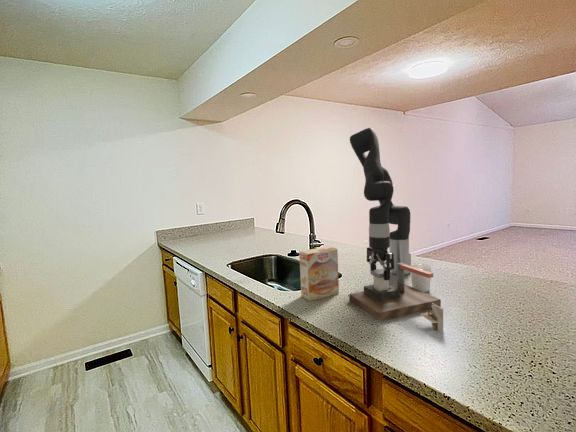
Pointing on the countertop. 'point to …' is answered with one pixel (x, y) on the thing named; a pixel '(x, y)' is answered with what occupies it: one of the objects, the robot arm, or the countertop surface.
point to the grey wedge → (435, 317)
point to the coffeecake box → (319, 273)
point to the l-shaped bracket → (402, 267)
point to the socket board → (392, 301)
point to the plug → (380, 280)
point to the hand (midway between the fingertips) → (380, 277)
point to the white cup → (421, 278)
